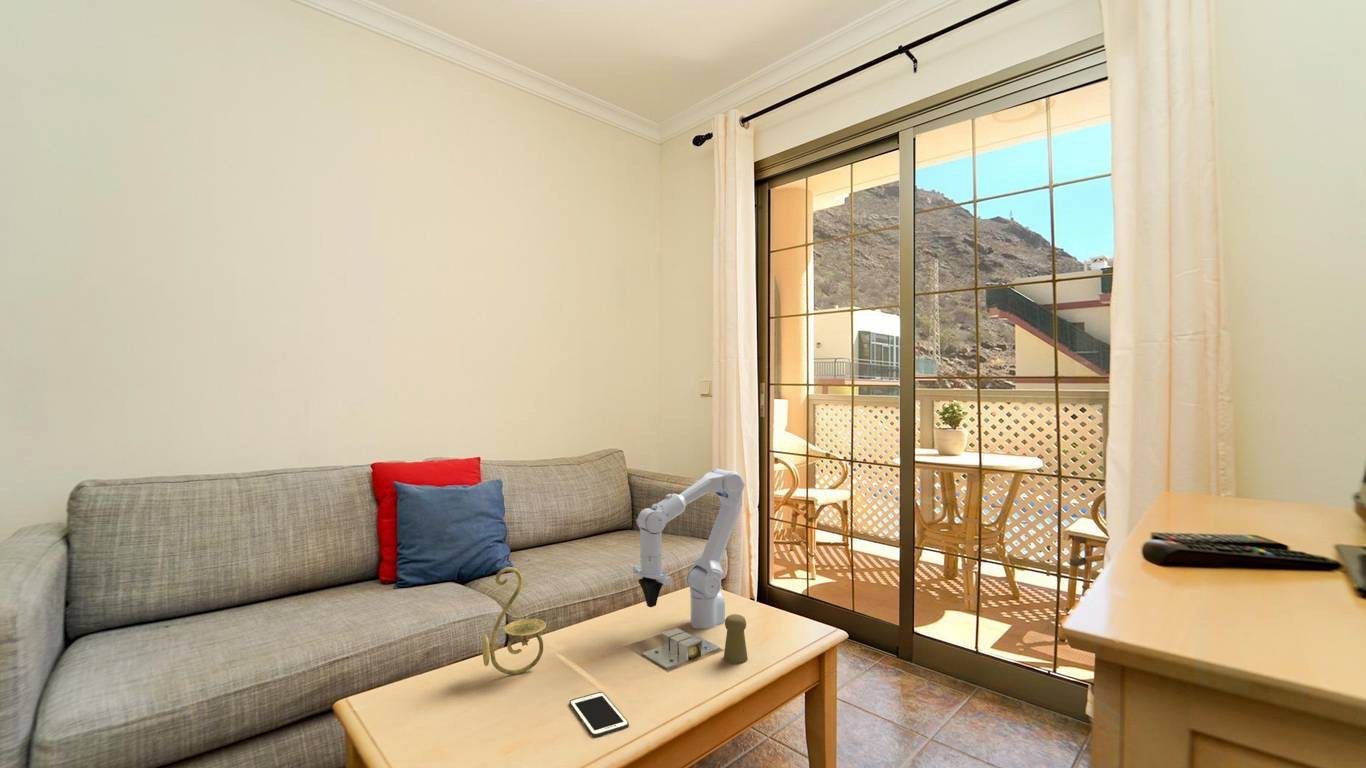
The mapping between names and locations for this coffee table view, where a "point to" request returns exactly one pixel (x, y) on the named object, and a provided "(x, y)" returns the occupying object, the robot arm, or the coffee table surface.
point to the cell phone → (598, 714)
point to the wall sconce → (513, 631)
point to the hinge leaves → (678, 648)
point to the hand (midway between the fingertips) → (651, 605)
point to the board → (657, 642)
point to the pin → (692, 652)
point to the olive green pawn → (735, 640)
